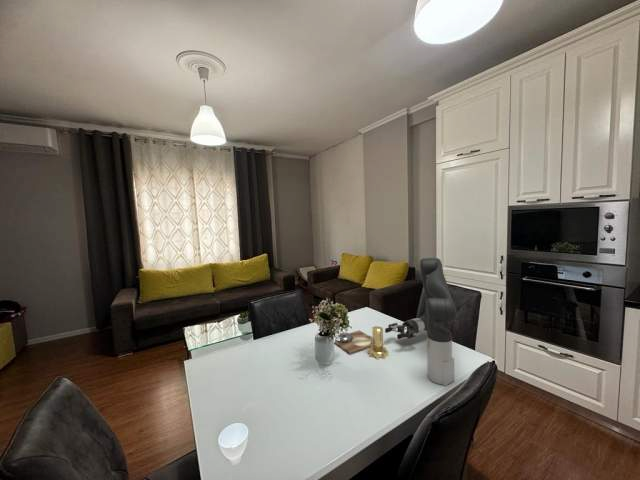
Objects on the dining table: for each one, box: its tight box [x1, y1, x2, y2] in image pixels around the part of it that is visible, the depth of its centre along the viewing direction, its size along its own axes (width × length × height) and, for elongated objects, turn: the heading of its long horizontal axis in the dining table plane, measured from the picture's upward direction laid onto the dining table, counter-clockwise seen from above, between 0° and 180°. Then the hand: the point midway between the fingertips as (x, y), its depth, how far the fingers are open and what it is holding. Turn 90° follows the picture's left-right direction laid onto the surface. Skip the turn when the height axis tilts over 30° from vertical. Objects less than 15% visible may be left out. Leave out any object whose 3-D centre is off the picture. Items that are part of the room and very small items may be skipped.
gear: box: [338, 331, 353, 344], centre depth 141 cm, size 10×9×4 cm
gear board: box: [334, 329, 373, 356], centre depth 140 cm, size 18×20×1 cm
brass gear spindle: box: [367, 325, 389, 360], centre depth 126 cm, size 10×10×13 cm
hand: (391, 333), depth 131 cm, fingers open, 8 cm apart
